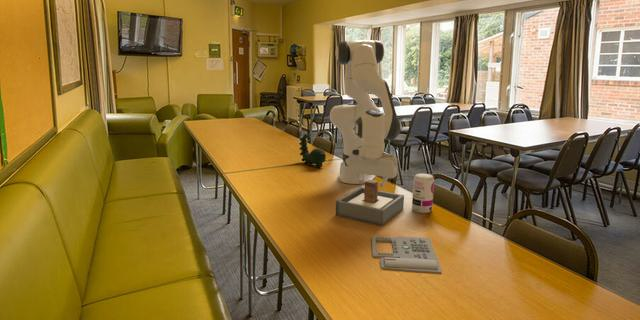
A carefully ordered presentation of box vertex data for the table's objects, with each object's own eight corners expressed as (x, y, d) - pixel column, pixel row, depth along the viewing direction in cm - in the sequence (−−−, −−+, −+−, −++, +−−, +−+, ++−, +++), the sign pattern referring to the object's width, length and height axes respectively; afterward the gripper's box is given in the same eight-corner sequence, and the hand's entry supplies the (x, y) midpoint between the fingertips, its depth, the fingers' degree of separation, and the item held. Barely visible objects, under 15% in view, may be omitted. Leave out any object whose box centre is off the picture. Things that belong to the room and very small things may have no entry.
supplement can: (432, 208, 172) (435, 173, 168) (431, 214, 164) (433, 179, 161) (413, 205, 174) (415, 172, 171) (410, 212, 167) (413, 177, 163)
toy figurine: (296, 164, 248) (318, 170, 227) (294, 134, 245) (317, 136, 224) (309, 163, 253) (332, 168, 233) (308, 132, 250) (331, 135, 230)
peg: (368, 207, 169) (369, 179, 166) (376, 209, 167) (378, 181, 164) (363, 210, 165) (364, 181, 163) (372, 212, 163) (373, 183, 161)
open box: (360, 200, 181) (360, 187, 179) (403, 208, 170) (404, 195, 169) (335, 215, 162) (336, 201, 161) (381, 226, 152) (382, 210, 151)
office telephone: (443, 267, 118) (373, 263, 120) (442, 275, 118) (373, 272, 120) (429, 234, 140) (371, 231, 142) (429, 241, 141) (371, 238, 143)
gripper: (400, 153, 158) (398, 187, 161) (353, 147, 168) (352, 178, 172) (394, 156, 153) (392, 191, 156) (346, 149, 163) (345, 182, 167)
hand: (371, 184), depth 164 cm, fingers open, 8 cm apart
